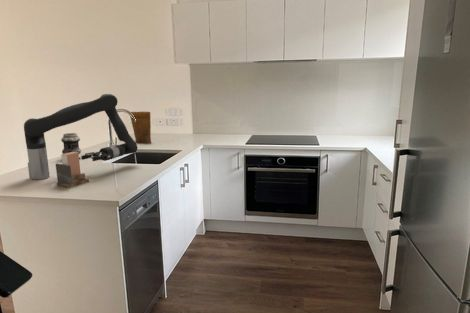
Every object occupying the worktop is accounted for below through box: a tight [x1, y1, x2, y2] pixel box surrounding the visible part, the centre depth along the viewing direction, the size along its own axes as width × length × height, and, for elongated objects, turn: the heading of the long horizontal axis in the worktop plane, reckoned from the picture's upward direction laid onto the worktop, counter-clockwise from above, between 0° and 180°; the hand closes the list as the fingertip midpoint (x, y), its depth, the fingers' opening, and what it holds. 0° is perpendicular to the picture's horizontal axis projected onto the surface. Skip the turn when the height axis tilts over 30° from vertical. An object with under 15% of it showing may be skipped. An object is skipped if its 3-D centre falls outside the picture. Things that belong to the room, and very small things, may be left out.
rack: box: [55, 163, 90, 189], centre depth 178 cm, size 12×10×12 cm
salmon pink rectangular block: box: [60, 152, 82, 176], centre depth 177 cm, size 7×4×15 cm, turn 155°
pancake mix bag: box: [129, 111, 152, 145], centre depth 294 cm, size 7×19×28 cm, turn 72°
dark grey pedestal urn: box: [60, 132, 82, 160], centre depth 234 cm, size 12×12×18 cm
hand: (87, 158), depth 186 cm, fingers open, 8 cm apart
